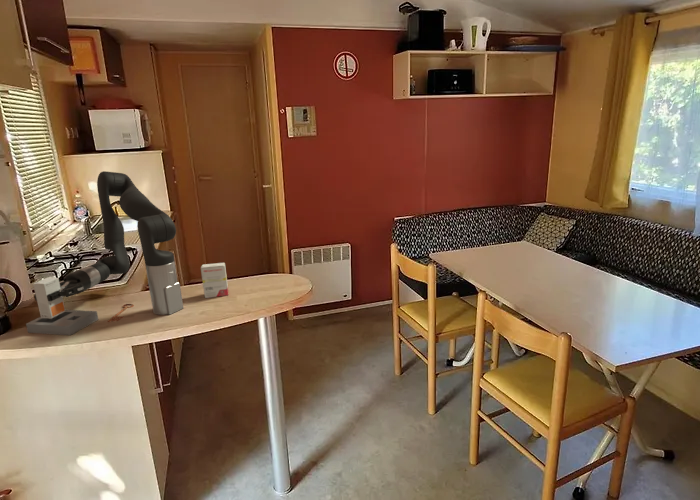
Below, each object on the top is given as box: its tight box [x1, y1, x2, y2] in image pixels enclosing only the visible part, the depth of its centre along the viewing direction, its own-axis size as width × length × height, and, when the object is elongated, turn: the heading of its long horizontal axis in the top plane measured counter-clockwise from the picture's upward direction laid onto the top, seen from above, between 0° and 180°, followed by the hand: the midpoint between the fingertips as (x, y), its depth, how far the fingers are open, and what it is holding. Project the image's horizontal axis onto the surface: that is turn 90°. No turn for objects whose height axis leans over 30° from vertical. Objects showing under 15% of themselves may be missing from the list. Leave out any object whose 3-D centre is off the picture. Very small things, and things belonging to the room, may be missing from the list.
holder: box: [25, 309, 99, 336], centre depth 151 cm, size 16×12×3 cm
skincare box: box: [32, 276, 66, 319], centre depth 150 cm, size 6×4×12 cm
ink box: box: [200, 262, 229, 299], centre depth 172 cm, size 9×5×12 cm, turn 102°
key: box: [107, 303, 134, 323], centre depth 160 cm, size 6×1×15 cm
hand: (42, 298), depth 147 cm, fingers closed on skincare box, 4 cm apart
